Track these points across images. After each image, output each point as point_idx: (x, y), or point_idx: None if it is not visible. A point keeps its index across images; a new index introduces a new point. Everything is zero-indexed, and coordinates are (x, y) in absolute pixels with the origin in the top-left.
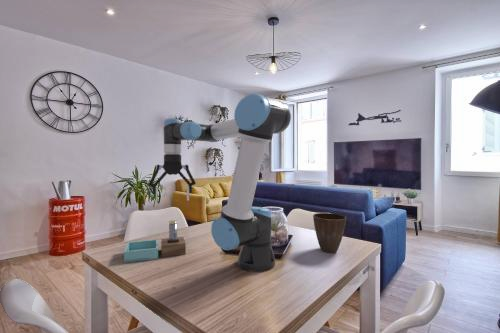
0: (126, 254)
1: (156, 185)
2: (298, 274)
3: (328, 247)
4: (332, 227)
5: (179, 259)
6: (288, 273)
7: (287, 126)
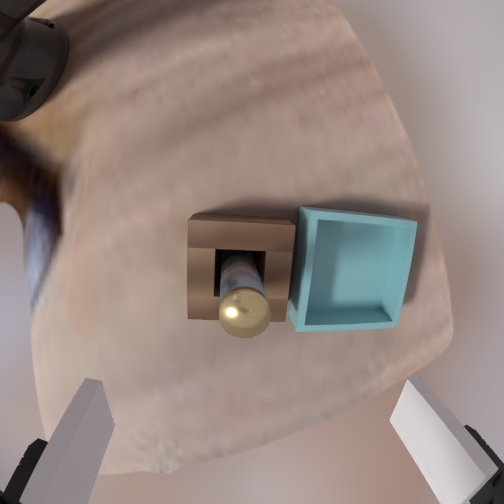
0: (406, 219)
1: (501, 488)
2: None
3: None
4: None
5: (224, 169)
6: None
7: None
